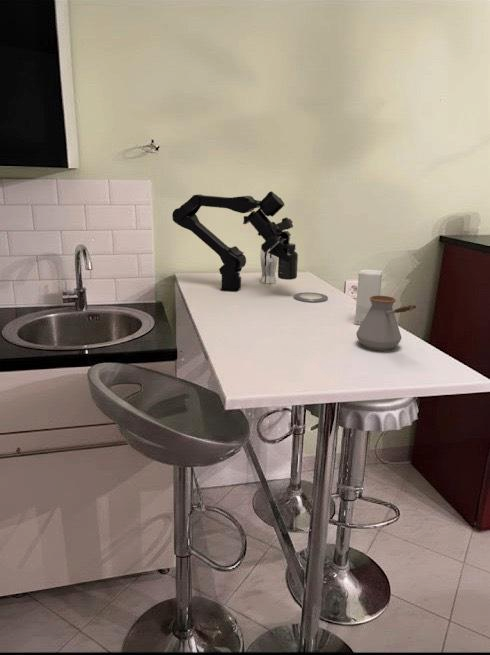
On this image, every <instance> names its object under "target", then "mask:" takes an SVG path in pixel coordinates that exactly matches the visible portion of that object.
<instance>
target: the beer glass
mask: <svg viewBox="0 0 490 655" xmlns="http://www.w3.org/2000/svg"><path fill="white" fill-rule="evenodd" d="M262 244H263V243H262ZM262 244H261V245H260V247H261V246H262ZM269 251H270V249H269V250H268V251H267V252H266V253H265V252H264V251H263V250H262V249H261V248H260V255H259V258H260V259H259V260H260V267H261V277H260V278H261V279H260V283H261V284H263V285H264V284H265V285H275V284H276V283H277V281H276V280H277V279H276V270H277V267H278V257H276V256H274V255H272V254H270V253H268V252H269Z"/></svg>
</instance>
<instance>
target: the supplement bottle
mask: <svg viewBox="0 0 490 655" xmlns="http://www.w3.org/2000/svg"><path fill="white" fill-rule="evenodd" d="M282 247H283V249H284V250H285V252H286V253H287V255H288V257H289V258H290V261H289V262H287V261H285V260H283V259H281V258H279V257H278V261H277V277H278V278H279V279H281V280H284V281H285V280H287V281H290V280H291V281H292V280H296V279H297V278H298V261H299V255H298V252H296V243H290V242H289V243H284V244H282Z"/></svg>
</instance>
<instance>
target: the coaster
mask: <svg viewBox="0 0 490 655" xmlns="http://www.w3.org/2000/svg"><path fill="white" fill-rule="evenodd" d="M293 299H294V300H296V301H299V302H304V303H323V302H324V303H325V302H326V301H328V299H329V296H327V295H326V294H323V293H319V292H318V293H317V292H309V291H308V292H307V291H306V292H305V291H304V292H297V293H294V294H293Z"/></svg>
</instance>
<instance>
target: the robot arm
mask: <svg viewBox="0 0 490 655" xmlns="http://www.w3.org/2000/svg"><path fill="white" fill-rule="evenodd" d="M201 207H206V208H207V207H209V208H219V209H220V208H222V209H228V210H230V211H233V212H236V213H239V214H248V213H249V214H248V215H245V216H243V222H242V224H243V225H247V224H249V223H250V224H251V225H252V227H253V228H254V229H255V231H256V232H257V236H259V237H260V236H261V237H262V238H263V240H264V242H263V243H262V246H261V245H260V250H261V249H262V250H263V251H264V252H265V253H266V252H267V251H268V250H269V249H270V251H269V252H268V253H270V254H272V255H274V256H276V257H279V258H281V259H283V260H285V261H287V262H289V261H290V258H289V257H288V255H287V253H286V252H285V250H284V249H283V247H282V244H284V243H290V239H291V235H292V234H291V232H289V231H288V230H290V229H292V228H294V225H293V220H292V219H291V218H288V217H284V218H282V219H281V222H277V223H276V222H275V221H271V220H270V219H269V218H268V217H272V218H273V217H274V216H275V215H276V214H278V212H279V211H280V210H281V209H283V207H285V202H284V201H283V199H282V198H281V197H279V196H278V195H277V194H276V193H274V191H269V192H268V193H267V194H266V195H265V196H264V197H263V199H261V200H257V199H255V198H254V197H253V196H252V195H241V196H234V197H233V196H232V197H229V196H226V197H225V196H217V195H206V194H201V193H200V194H193V195H192V196H191V197H190V198H189V199H188V200H187V201H186V202H184V203H182V205H181V206H180V207H178V208H175V209H174V210H173V211H172V214H171V215H172V221H173V222H174V223H175V224H176V225H177V226H180V227H182V228H184V229H186V230H189V231H190V232H192V234H194V235H195V236H196V237H197V238H199V239H200V240H201V241H202V242H203V243H205V245H206V246H208V247H209V248H210V249H212V250H211V251H213V252H215V254H217V255H218V257H220V258H219V259H220V260H221V262H222V263H223V265H222V266H221V267H220V268H218V270H219V273H220V275H221V287H220V289H219V290H220V291H223V292H238V291H240V289H241V287H242V277H241V276H240V275H241V273H240V272H241V271H242V268H244V267H245V265H247V258H246V255H245V252H243V251H242V250H240V249H239V247H237V246H236V245H235V246H232V247H230V246H228V245H227V244H226V243H224V242H223V241H222V240H221V239H220V238H219V237H217V236H216V235H215V234H214V233H213V232H211V230H210V229H209V228H207V227H206V225H204V224H202V222H201V221H200V219H199V218H198V216H197V215H196V214H197V213H198V212H199V210H200V209H201ZM255 209H257V210H255Z"/></svg>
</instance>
